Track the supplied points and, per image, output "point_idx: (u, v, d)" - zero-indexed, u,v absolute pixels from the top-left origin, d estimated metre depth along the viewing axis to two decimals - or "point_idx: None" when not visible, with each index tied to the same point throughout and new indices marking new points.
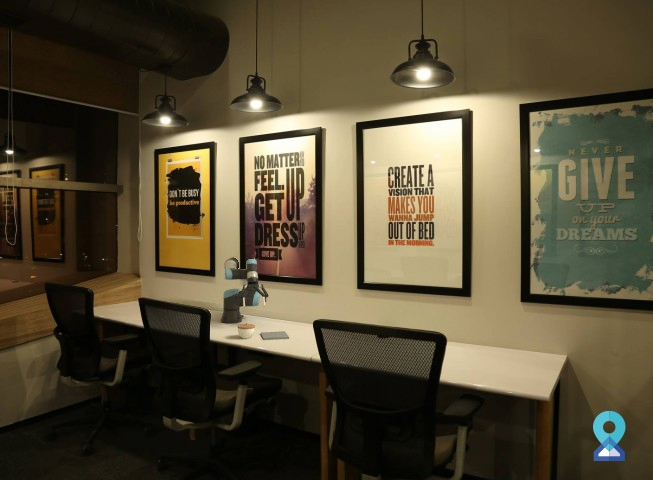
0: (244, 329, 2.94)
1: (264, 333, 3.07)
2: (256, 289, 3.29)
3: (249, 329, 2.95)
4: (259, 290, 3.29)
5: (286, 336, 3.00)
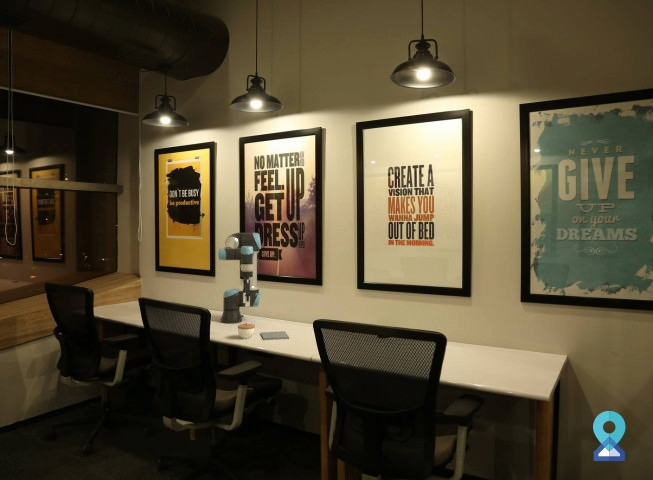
0: (244, 329, 2.94)
1: (264, 333, 3.07)
2: None
3: (249, 329, 2.95)
4: (245, 287, 2.95)
5: (286, 336, 3.00)
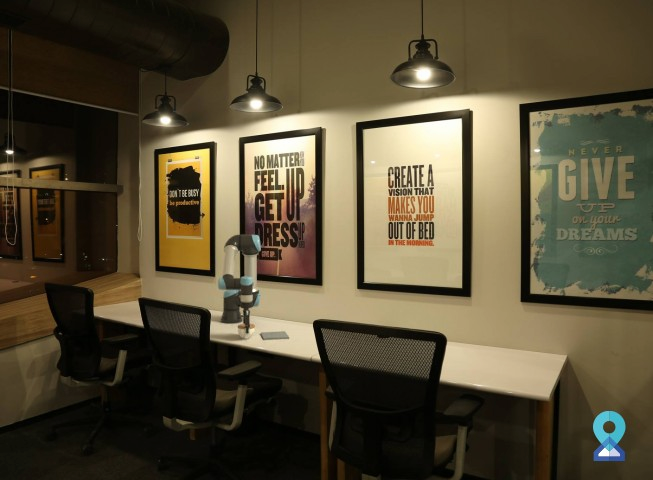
0: (244, 329, 2.94)
1: (264, 333, 3.07)
2: (245, 315, 2.97)
3: (249, 329, 2.95)
4: (245, 318, 2.96)
5: (286, 336, 3.00)
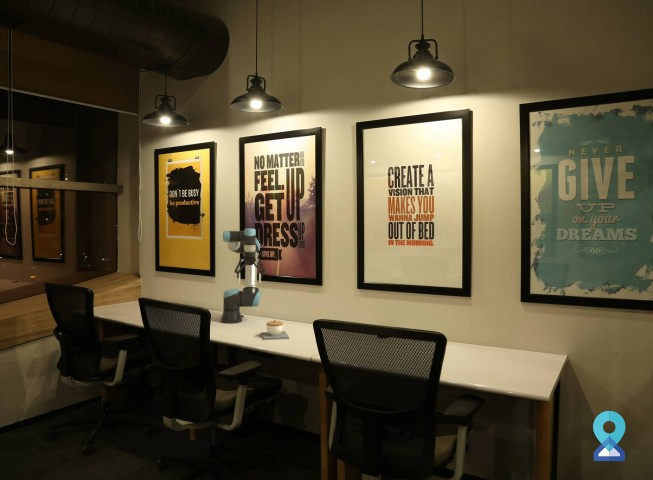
0: (282, 324, 3.04)
1: (264, 333, 3.07)
2: (253, 264, 3.19)
3: None
4: (256, 265, 3.19)
5: (286, 336, 3.00)
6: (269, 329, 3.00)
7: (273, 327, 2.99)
